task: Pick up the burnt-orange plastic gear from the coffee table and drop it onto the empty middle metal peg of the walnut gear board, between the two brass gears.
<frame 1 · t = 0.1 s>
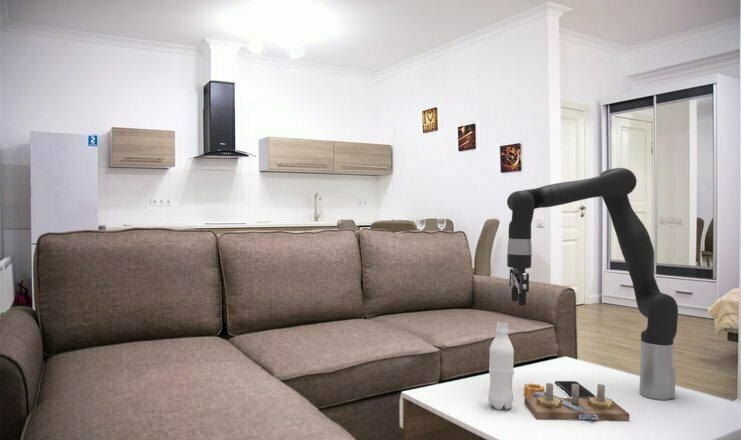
hand: (518, 303, 170), 29 cm above the table, tool pointing down, fingers open, 8 cm apart
gear: (534, 395, 168), on the table
phone: (574, 392, 174), on the table
water bottle: (500, 407, 158), on the table
gear board: (574, 412, 155), on the table
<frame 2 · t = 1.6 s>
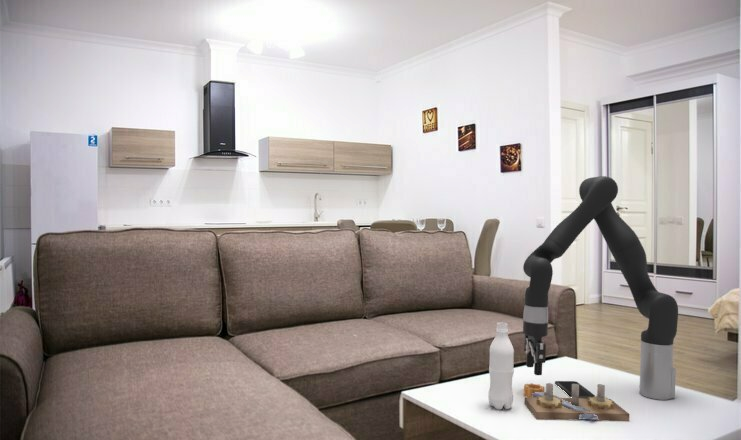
hand: (533, 370, 168), 8 cm above the table, tool pointing down, fingers open, 8 cm apart
nothing on the table moved.
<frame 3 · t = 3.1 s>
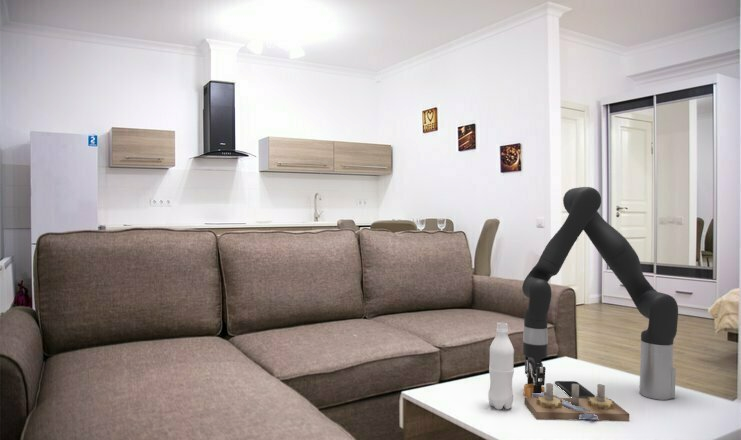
hand: (534, 393, 168), 1 cm above the table, tool pointing down, fingers closed on gear, 6 cm apart
gear: (534, 395, 168), on the table, touching gripper
everything else where it was.
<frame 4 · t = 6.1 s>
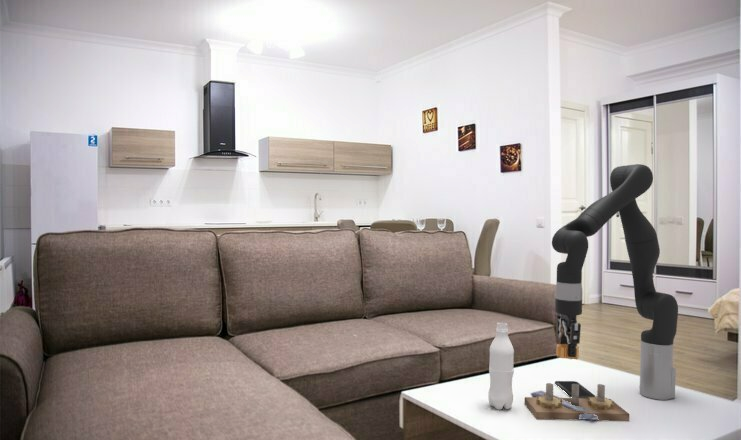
hand: (567, 353, 157), 16 cm above the table, tool pointing down, fingers closed on gear, 6 cm apart
gear: (567, 356, 157), point 16 cm above the table, touching gripper
everything else where it was.
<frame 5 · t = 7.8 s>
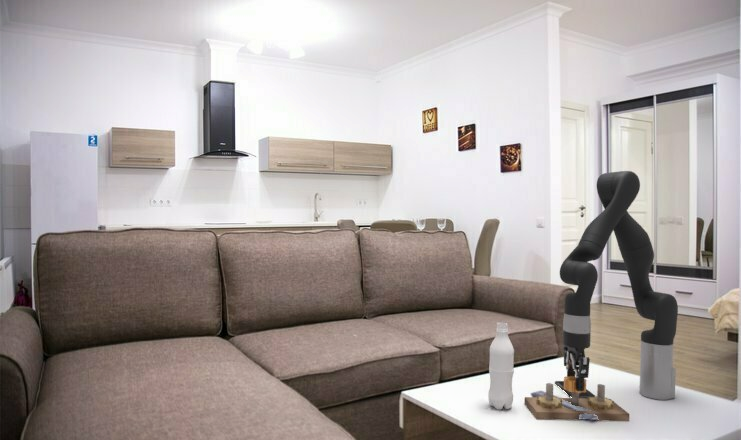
hand: (575, 386, 154), 7 cm above the table, tool pointing down, fingers closed on gear, 6 cm apart
gear: (574, 389, 154), point 7 cm above the table, touching gripper
everything else where it was.
when the fingers open (4 cm above the table, at t = 9.4 s): gear drops 1 cm, resting on gear board.
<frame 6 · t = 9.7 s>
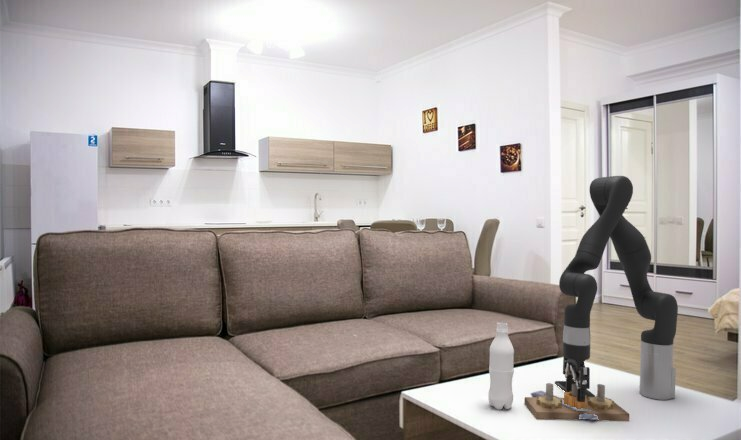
hand: (575, 396, 155), 5 cm above the table, tool pointing down, fingers open, 8 cm apart
gear: (574, 405, 155), point 2 cm above the table, touching gear board
everything else where it was.
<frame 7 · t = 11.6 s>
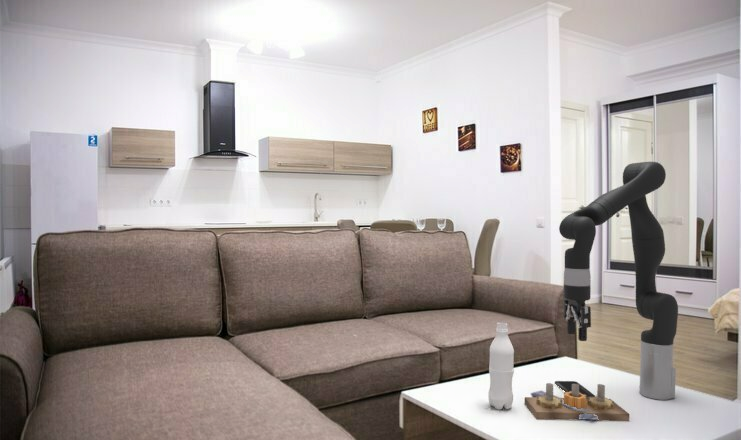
hand: (576, 337, 158), 21 cm above the table, tool pointing down, fingers open, 8 cm apart
nothing on the table moved.
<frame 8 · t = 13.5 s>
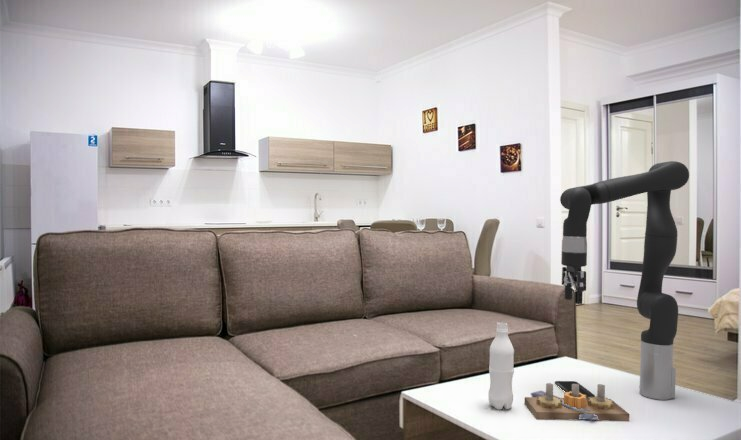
hand: (573, 301, 168), 30 cm above the table, tool pointing down, fingers open, 8 cm apart
nothing on the table moved.
at the end: gear 0.0 cm off-centre on the gear board, point 2.0 cm above the gear board's base; the gripper is holding nothing; gear tilted 0° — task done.
